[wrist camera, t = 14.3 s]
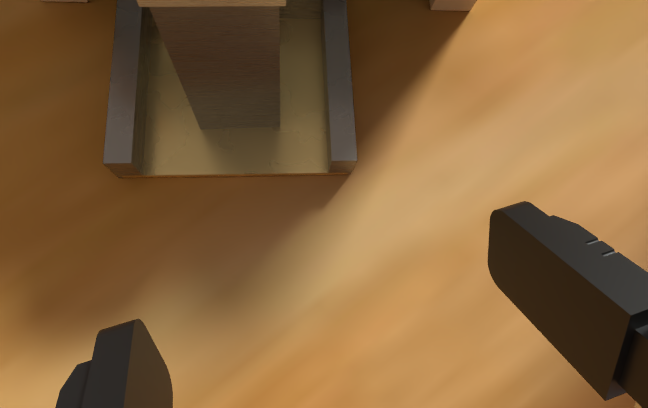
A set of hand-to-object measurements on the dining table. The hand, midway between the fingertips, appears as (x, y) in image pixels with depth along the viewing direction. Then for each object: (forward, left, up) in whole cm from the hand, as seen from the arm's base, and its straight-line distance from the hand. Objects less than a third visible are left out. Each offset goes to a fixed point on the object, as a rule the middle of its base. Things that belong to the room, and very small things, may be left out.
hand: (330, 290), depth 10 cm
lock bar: (+3, -11, -11) cm, 16 cm away
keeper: (+3, -11, -11) cm, 16 cm away
